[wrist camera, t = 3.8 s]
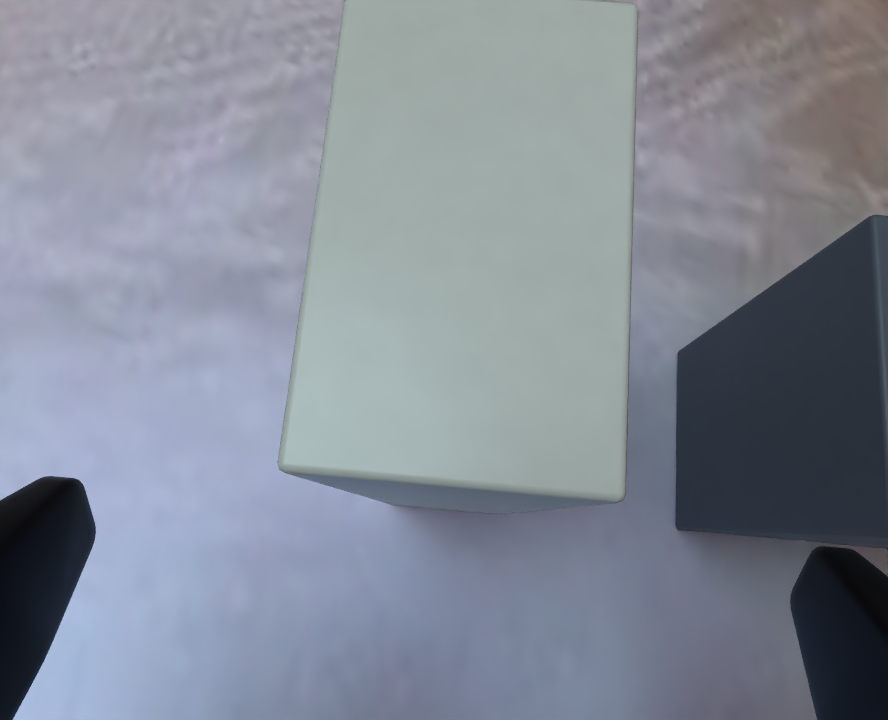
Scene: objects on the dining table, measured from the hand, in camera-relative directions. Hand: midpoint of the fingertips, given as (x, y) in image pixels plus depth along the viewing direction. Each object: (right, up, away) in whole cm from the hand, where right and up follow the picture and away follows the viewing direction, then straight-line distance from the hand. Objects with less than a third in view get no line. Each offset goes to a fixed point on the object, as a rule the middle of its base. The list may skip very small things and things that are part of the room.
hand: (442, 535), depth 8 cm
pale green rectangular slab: (0, +1, +11) cm, 11 cm away
